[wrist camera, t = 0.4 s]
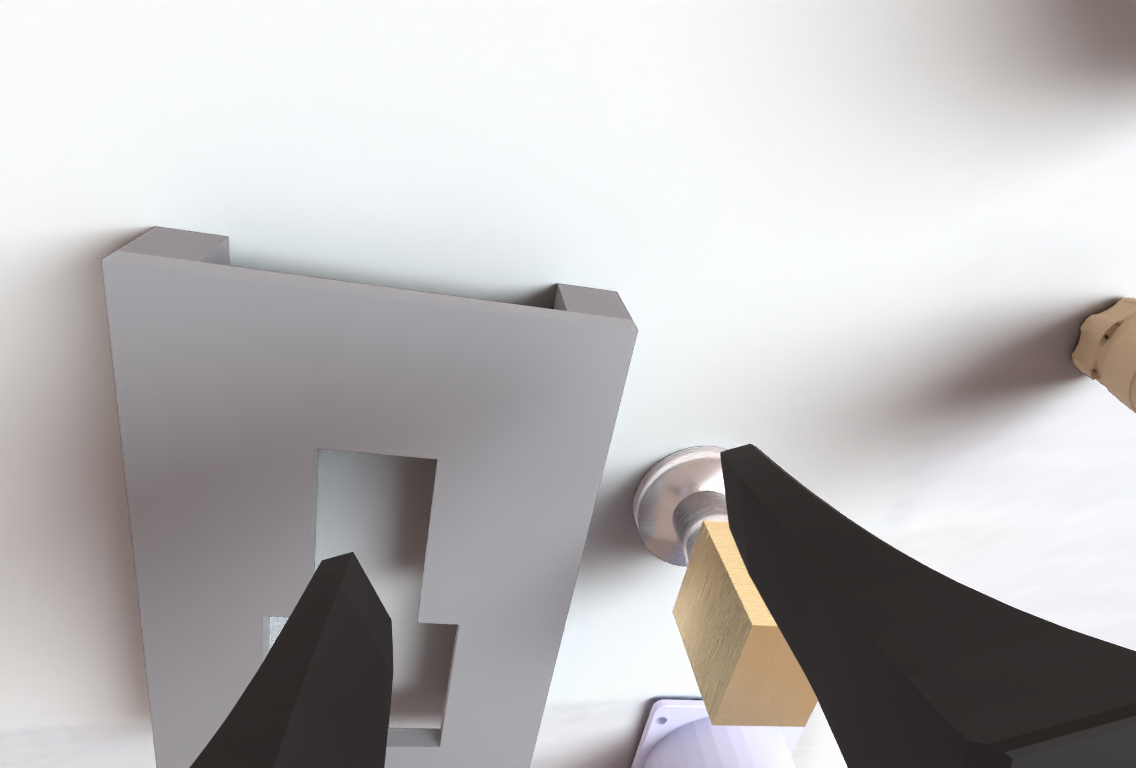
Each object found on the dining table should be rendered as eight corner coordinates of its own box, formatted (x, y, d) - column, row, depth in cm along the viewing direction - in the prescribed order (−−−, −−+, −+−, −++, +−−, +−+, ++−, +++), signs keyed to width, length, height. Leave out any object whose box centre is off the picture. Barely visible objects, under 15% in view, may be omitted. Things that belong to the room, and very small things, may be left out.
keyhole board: (522, 706, 31) (527, 775, 28) (189, 699, 29) (157, 775, 26) (617, 291, 23) (638, 330, 20) (155, 226, 20) (101, 259, 17)
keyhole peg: (736, 553, 29) (829, 738, 21) (620, 545, 28) (675, 736, 20) (773, 452, 27) (891, 618, 19) (649, 440, 26) (723, 609, 18)
